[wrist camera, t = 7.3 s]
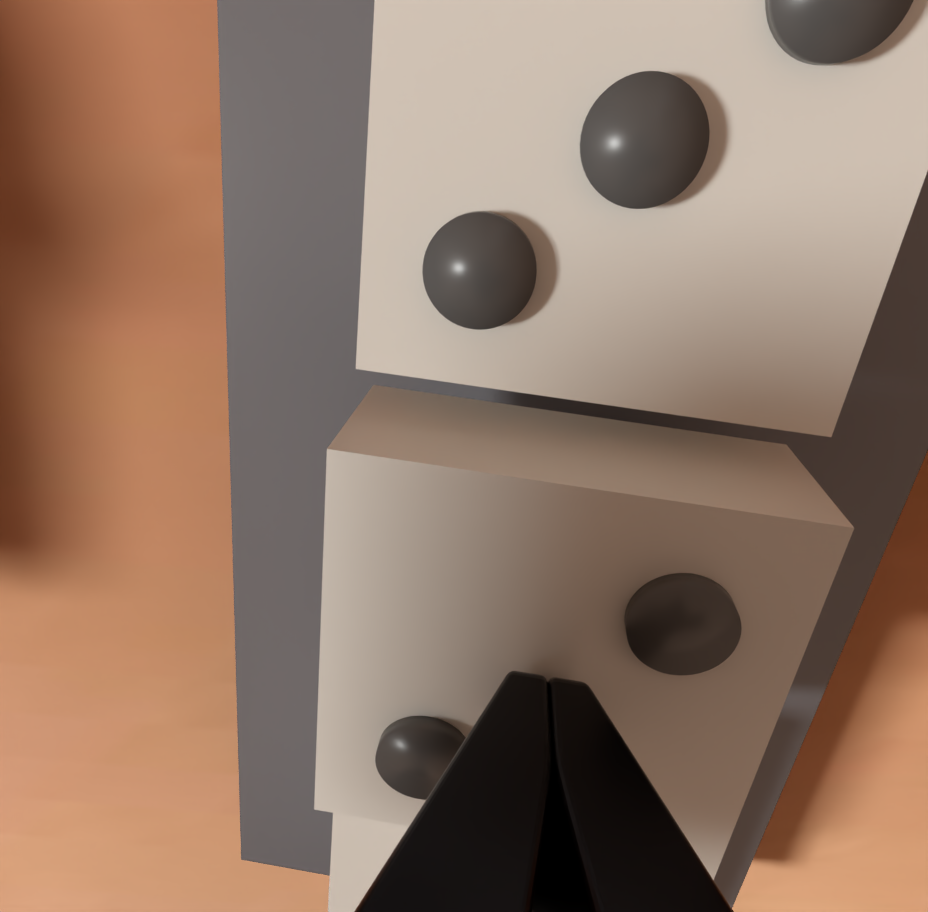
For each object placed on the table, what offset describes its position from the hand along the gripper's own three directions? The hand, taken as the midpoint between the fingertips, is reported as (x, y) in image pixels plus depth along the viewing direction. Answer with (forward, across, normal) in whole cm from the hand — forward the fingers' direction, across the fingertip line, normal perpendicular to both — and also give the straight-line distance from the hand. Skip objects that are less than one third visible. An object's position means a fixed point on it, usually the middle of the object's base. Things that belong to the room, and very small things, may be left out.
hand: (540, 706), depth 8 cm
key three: (+3, 0, -6) cm, 6 cm away
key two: (+2, 0, 0) cm, 2 cm away
